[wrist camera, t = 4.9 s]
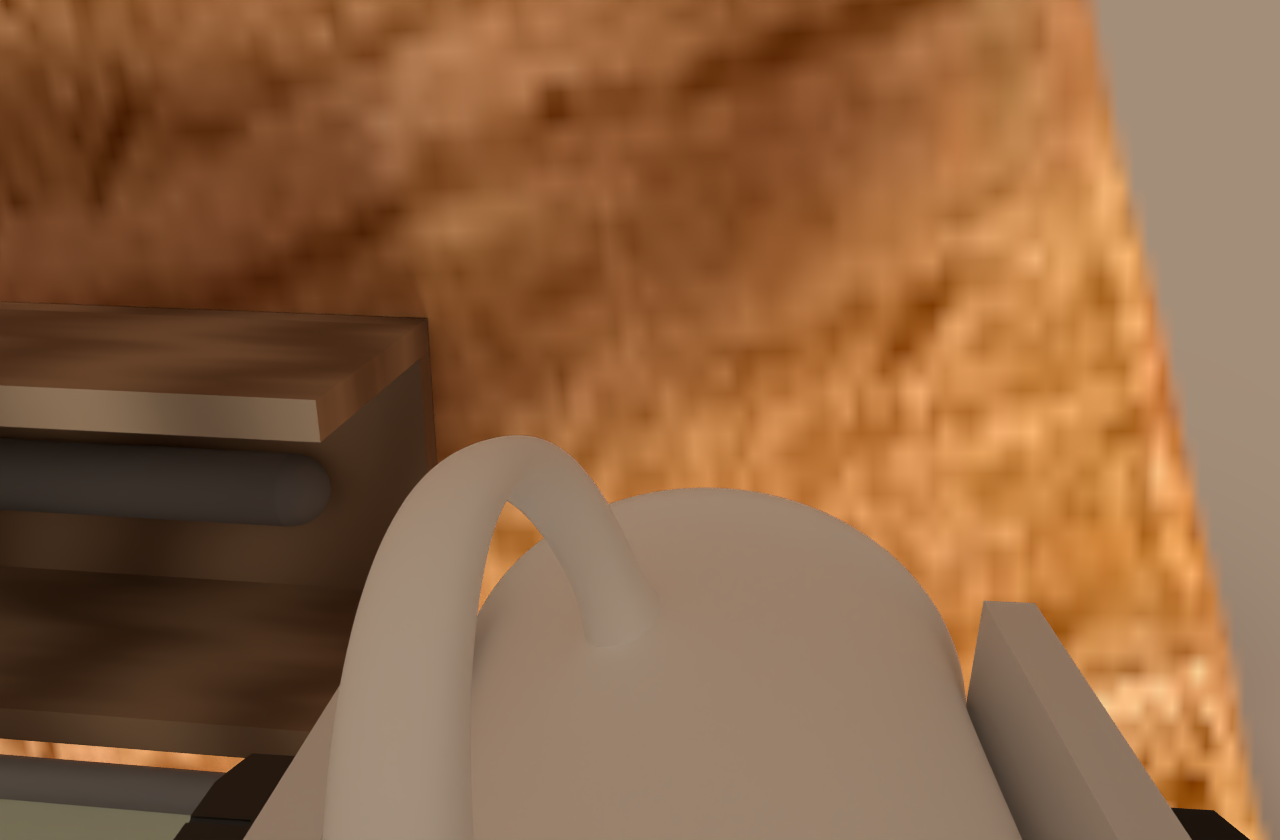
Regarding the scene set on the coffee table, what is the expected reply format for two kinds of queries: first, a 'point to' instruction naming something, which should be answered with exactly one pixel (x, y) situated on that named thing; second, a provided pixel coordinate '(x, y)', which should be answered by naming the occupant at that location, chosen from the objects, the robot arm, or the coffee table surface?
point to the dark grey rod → (161, 482)
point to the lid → (96, 799)
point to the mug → (646, 673)
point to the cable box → (200, 551)
